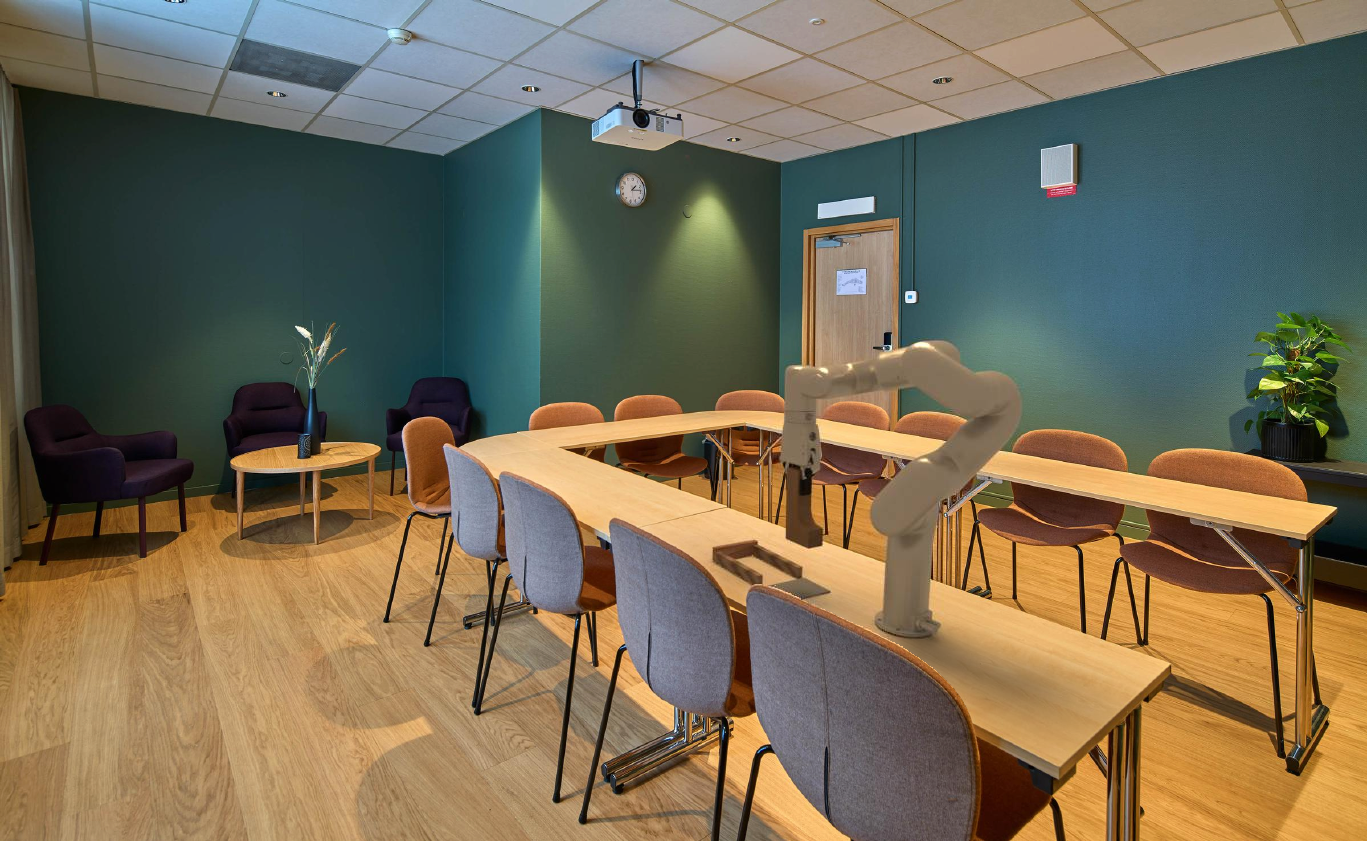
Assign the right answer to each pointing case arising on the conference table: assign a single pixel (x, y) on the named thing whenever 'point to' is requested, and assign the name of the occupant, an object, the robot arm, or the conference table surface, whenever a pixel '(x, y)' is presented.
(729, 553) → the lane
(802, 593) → the mat
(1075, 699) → the conference table surface
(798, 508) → the wooden block
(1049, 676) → the conference table surface
